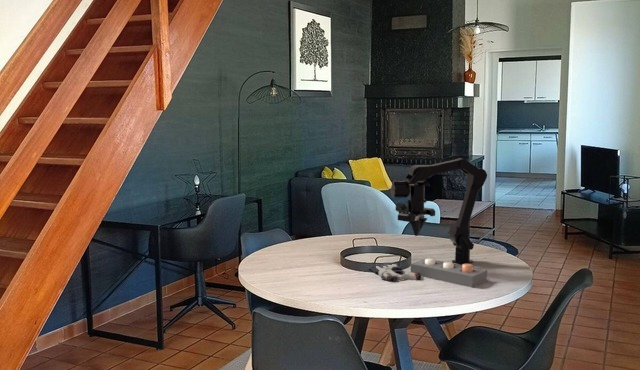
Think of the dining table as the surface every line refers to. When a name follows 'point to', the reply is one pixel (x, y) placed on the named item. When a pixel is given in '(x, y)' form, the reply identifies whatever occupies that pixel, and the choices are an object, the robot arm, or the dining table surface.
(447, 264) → the plug white mid
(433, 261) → the plug white near
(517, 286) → the dining table surface
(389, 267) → the toy gun
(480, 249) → the dining table surface
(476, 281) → the socket board
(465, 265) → the plug terracotta
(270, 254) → the dining table surface
